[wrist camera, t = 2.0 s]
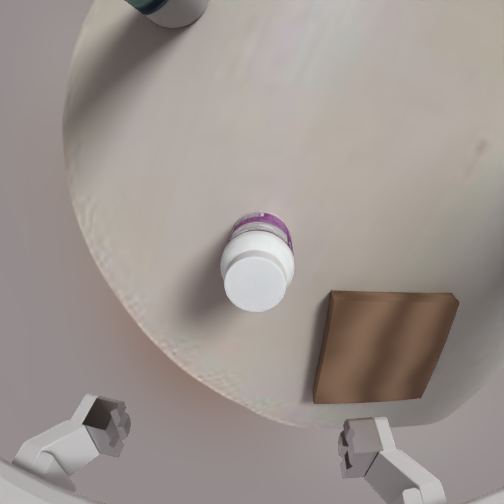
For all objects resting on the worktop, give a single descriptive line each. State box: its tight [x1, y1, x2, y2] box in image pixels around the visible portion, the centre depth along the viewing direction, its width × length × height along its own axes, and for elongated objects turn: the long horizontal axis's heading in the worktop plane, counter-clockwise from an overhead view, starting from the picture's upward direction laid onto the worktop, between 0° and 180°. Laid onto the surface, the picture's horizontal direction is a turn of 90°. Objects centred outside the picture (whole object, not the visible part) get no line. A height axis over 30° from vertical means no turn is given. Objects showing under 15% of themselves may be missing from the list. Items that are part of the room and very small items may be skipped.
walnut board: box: [313, 291, 459, 404], centre depth 32 cm, size 14×14×2 cm
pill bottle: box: [220, 211, 295, 312], centre depth 25 cm, size 5×5×10 cm
